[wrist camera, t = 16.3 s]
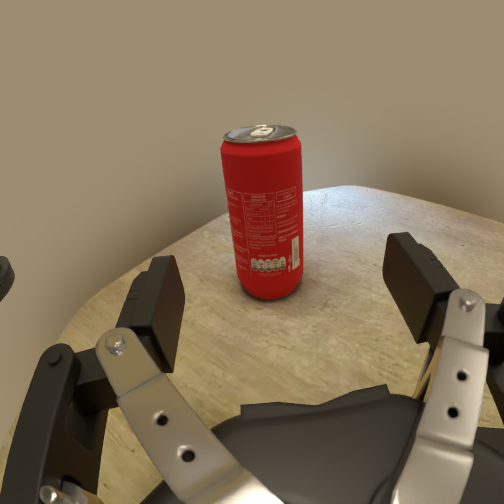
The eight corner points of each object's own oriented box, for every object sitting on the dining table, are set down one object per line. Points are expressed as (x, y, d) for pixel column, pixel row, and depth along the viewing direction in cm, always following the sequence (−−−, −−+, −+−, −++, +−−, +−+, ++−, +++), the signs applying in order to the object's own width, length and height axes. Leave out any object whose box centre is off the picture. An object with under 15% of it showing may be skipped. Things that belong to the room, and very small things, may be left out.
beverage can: (229, 296, 24) (204, 142, 18) (252, 259, 28) (237, 124, 22) (294, 308, 23) (289, 141, 16) (308, 267, 27) (307, 124, 20)
